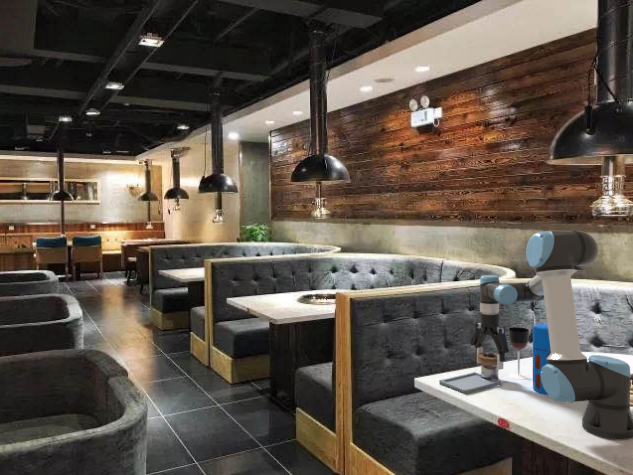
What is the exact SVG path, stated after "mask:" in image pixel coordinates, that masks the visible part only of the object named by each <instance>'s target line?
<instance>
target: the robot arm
mask: <svg viewBox="0 0 633 475" xmlns="http://www.w3.org/2000/svg"><path fill="white" fill-rule="evenodd" d="M598 255H599V246H598V243H597V241H596V239H595V238H594V237H593V236H592V235H591V234H589V233H587V232H585V231H582V230H546V231H540V232H539V231H538V232H536V233H534V234H533V235H532V236H530V238H529V239H528V242H527V245H526V248H525V258H526V261H527V263H528V265H529V266H530V267H531V268H534V269H535V274H536V275H535V276H533V277H532V278H531V279H530V280H528V281H527V282H509V283H508V282H507V283H502V282H500V279H499V278H500V277H499V276H498V275H494V274H493V275H492V274H490V275H487V274H485V275H481V276H480V278H479V279H480V281H479V297H480V298H479V300H480V301H479V316H480V317H479V319H480V320H479V321H480V322H477V323H476V322H475V324H474V332H473V336H472V341H471V344H472V345H473V346H474V347H475V354H476V355H477V354H480V353H484V347H483V343H484V342H485V340H486V338H487V336H488V337H489V336H490V337H491V339H492V340H493V342H494V345H495V347H496V348H497V351H498V352H497V353H496V354H497V369H498V371H499V370H503V369H504V362H505V357H506V355H505V354H509V352H510V350H509V345H508V340H507V336H506V328H505V327H502V328H501V327H500V326H499V324H500V314H499V312H500V304H502V305H511V304H513V303H522V302H523V303H525V302H540V301H544V308H545V315H546V324H548V332H549V340H550V348H551V354H550V355H549V356H548V357H547V365H545V366H543V367H542V371H541V381H542V384H543V387H544V389H545V391H546V392H547V393H548V395H547V396H548V397H550V399H551V400H553V401H554V402H558V403H569V404H570V403H571V404H572V403H574V402H575V403H577V402H588V404H587V405H586V408H585V411H584V412H583V415H582V420H581V426H582V429H584V430H585V431H586V432H587V433H590V434H592V435H594V436H597V437H600V438H605V439H609V440H617V441H619V440H620V441H621V440H622V441H623V440H630V439H633V414H632V410H631V380H632V379H631V378H632V375H631V367H630V365H629V363H627V362H626V361H624V360H621V359H618V358H617V357H616V358H615V357H612V356H611V357H610V356H605V355H600V354H591V355H589V356H588V358H587V356H586V355H585V354H583V353H582V351H581V345H580V344H581V343H580V338H579V336H580V335H579V331H578V323H577V315H576V308H575V301H574V294H573V293H574V292H573V286H572V278H571V277H572V275H574V274H575V273H576V272H577V271H578V272H579V271H583V270H586V269H587V268H589V267H591V266H592V264H594V262H595V261H596V260H597V258H598ZM476 363H477V364H480V363H479V362H478V358H477V357H476Z"/></svg>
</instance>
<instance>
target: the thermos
mask: <svg viewBox="0 0 633 475" xmlns="http://www.w3.org/2000/svg"><path fill="white" fill-rule="evenodd" d="M550 354H551V348H550V340H549V332H548V324H547V323H545V324H544V323H543V324H541V323H540V324H534V325H533V327H532V390H533V391H534V392H535V393H536V394H540V395H544V396H545V395H546V396H549V395H548V393H547V392H546V391H545V389H544V387H543V384H542V381H541V371H542V367H543V366H545V365H547V357H548V356H549V355H550Z"/></svg>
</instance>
